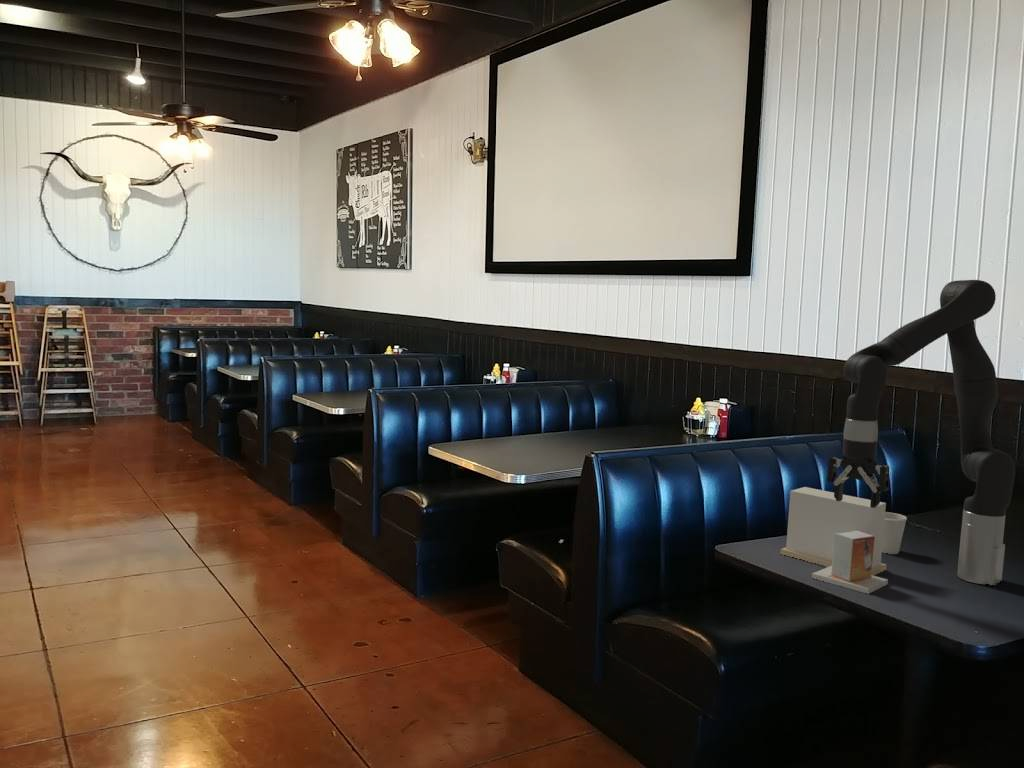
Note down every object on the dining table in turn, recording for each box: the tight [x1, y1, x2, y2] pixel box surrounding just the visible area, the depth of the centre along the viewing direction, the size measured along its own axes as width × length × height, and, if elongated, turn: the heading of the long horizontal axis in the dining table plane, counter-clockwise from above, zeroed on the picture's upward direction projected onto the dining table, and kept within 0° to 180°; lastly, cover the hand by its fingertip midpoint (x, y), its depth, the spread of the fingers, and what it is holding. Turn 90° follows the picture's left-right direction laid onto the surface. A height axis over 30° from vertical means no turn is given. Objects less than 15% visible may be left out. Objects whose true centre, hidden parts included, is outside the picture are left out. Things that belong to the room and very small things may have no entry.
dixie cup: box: [882, 511, 908, 555], centre depth 237 cm, size 8×8×10 cm
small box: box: [831, 531, 875, 581], centre depth 209 cm, size 8×6×10 cm
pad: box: [811, 565, 889, 595], centre depth 210 cm, size 14×11×1 cm
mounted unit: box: [779, 486, 887, 576], centre depth 224 cm, size 24×10×18 cm, turn 44°
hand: (856, 503), depth 208 cm, fingers open, 8 cm apart
